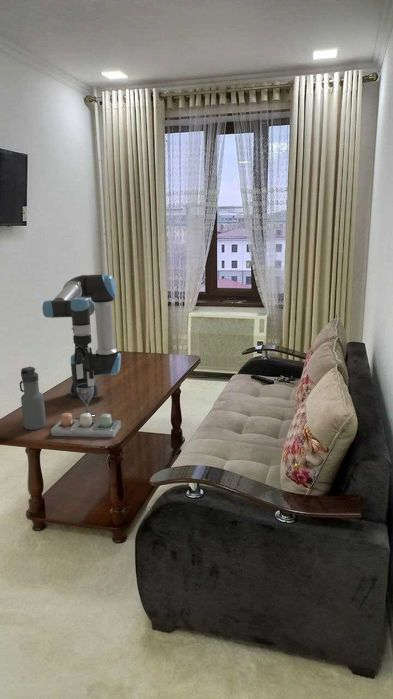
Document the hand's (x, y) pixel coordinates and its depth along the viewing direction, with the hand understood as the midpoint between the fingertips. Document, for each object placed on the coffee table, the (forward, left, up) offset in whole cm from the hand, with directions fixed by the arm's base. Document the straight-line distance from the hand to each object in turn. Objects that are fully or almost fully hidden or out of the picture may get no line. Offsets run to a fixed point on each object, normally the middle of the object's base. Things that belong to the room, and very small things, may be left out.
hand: (85, 382), depth 221 cm
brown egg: (0, -10, -21) cm, 23 cm away
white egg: (0, -1, -21) cm, 21 cm away
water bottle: (-4, -27, -23) cm, 36 cm away
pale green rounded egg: (0, +8, -21) cm, 22 cm away
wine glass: (-19, -7, -23) cm, 31 cm away
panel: (0, -1, -23) cm, 23 cm away
